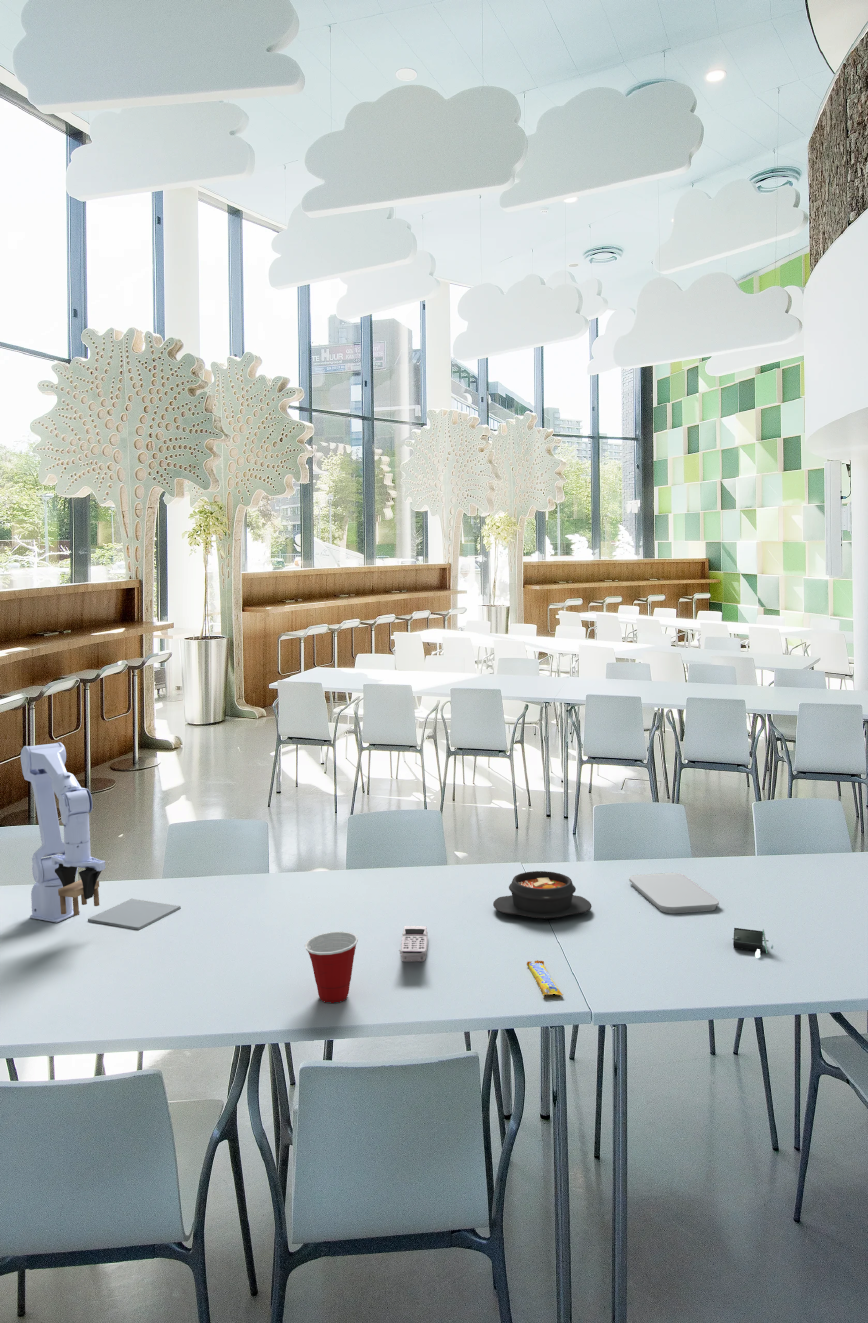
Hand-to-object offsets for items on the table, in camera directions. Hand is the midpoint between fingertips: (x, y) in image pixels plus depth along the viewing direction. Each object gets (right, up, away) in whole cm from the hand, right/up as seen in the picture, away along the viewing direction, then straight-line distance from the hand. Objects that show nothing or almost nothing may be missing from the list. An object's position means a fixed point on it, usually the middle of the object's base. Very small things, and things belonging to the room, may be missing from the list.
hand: (79, 896), depth 220 cm
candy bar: (+108, -12, -26) cm, 112 cm away
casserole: (+112, -8, +15) cm, 114 cm away
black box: (+157, -10, -9) cm, 157 cm away
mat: (+8, -9, +15) cm, 19 cm away
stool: (0, -3, 0) cm, 3 cm away
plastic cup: (+64, -12, -33) cm, 73 cm away
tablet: (+148, -7, +26) cm, 151 cm away
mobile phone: (+80, -11, -10) cm, 82 cm away
